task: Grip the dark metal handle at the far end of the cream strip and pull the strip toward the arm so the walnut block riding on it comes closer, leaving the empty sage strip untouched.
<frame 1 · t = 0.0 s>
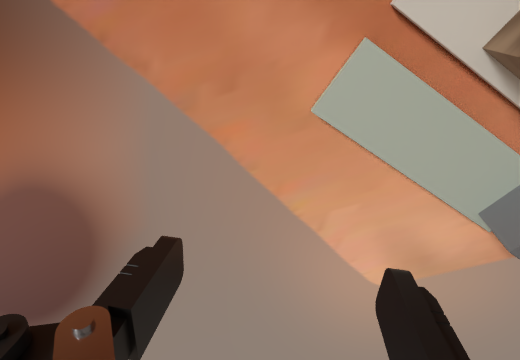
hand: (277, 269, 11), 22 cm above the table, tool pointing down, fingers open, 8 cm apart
sage strip: (447, 160, 27), point 4 cm above the table, slide at 0.0 cm
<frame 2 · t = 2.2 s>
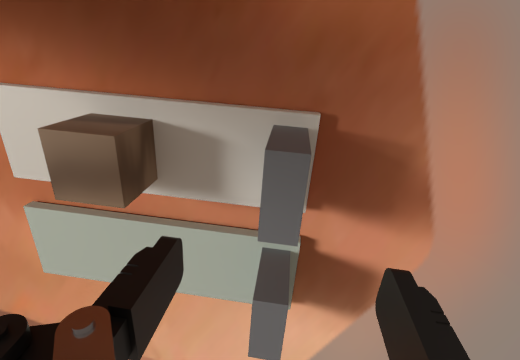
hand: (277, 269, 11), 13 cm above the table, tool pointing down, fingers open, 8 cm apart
sage strip: (146, 277, 25), point 4 cm above the table, slide at 0.0 cm
cream strip: (132, 160, 21), point 4 cm above the table, slide at 0.0 cm, touching walnut block
walnut block: (125, 147, 23), point 1 cm above the table, touching cream strip
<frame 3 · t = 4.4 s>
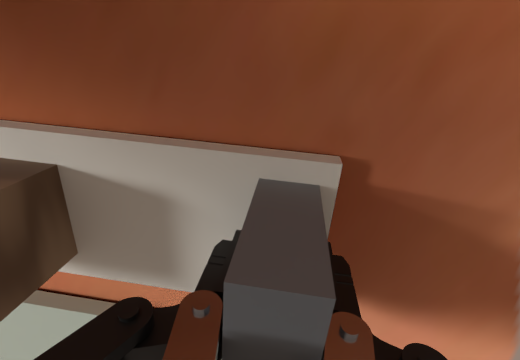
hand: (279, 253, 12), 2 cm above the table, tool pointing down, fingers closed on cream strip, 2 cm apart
cream strip: (11, 240, 12), point 4 cm above the table, slide at 0.0 cm, touching gripper, walnut block
walnut block: (21, 205, 14), point 1 cm above the table, touching cream strip
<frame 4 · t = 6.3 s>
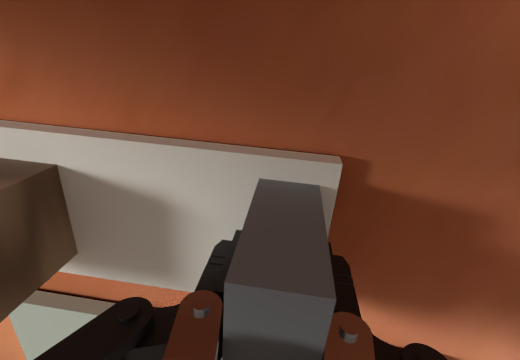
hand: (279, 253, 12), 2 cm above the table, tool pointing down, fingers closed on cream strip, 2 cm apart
cream strip: (11, 241, 12), point 4 cm above the table, slide at 7.6 cm, touching gripper, walnut block
walnut block: (21, 205, 14), point 1 cm above the table, touching cream strip
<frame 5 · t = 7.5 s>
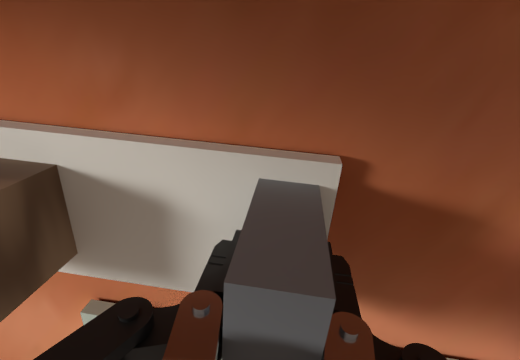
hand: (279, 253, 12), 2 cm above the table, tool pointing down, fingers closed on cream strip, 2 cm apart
cream strip: (11, 241, 12), point 4 cm above the table, slide at 12.7 cm, touching gripper, walnut block
walnut block: (21, 205, 14), point 1 cm above the table, touching cream strip
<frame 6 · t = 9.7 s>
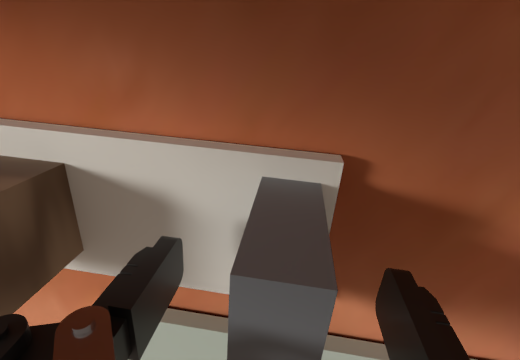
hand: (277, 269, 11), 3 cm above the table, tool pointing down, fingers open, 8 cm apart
cream strip: (20, 237, 12), point 4 cm above the table, slide at 13.0 cm, touching walnut block
walnut block: (29, 203, 14), point 1 cm above the table, touching cream strip
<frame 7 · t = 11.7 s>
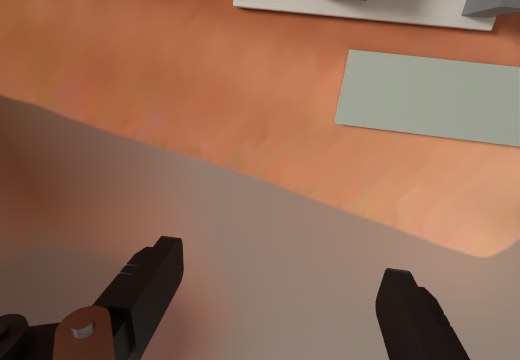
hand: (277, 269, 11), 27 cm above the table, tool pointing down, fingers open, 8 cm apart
sage strip: (475, 106, 29), point 4 cm above the table, slide at 0.0 cm
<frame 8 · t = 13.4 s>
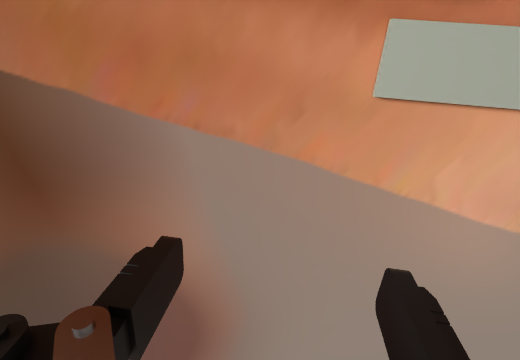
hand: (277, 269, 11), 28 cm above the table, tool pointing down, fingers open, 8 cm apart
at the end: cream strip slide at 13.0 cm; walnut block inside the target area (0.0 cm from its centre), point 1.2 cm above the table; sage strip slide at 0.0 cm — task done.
